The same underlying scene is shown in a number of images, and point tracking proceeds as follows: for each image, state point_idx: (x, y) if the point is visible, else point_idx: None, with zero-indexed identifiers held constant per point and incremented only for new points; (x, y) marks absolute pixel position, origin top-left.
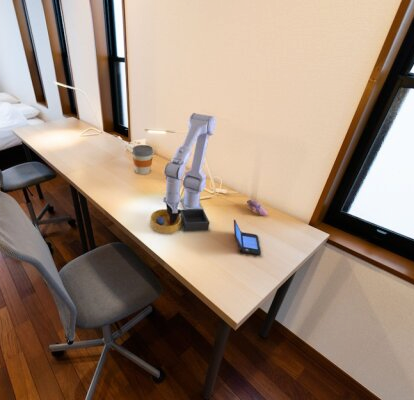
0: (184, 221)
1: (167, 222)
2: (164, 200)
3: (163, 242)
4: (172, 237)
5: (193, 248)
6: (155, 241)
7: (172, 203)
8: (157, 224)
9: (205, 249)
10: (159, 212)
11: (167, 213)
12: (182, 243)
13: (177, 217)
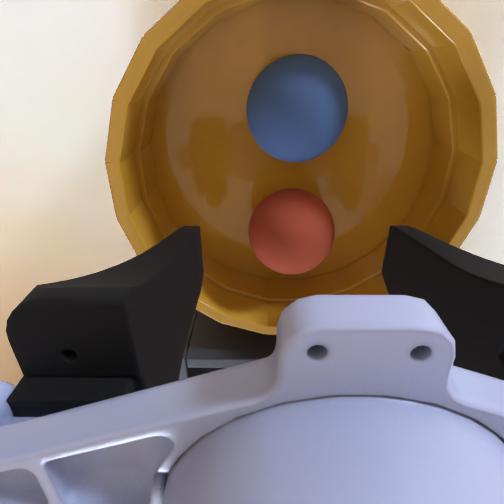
0: (212, 352)
1: (283, 189)
2: (331, 360)
3: (15, 105)
4: (103, 198)
5: (5, 318)
6: (9, 15)
7: (153, 497)
8: (142, 56)
9: (16, 375)
10: (463, 121)
11: (430, 213)
12: (41, 261)
13: (334, 294)
